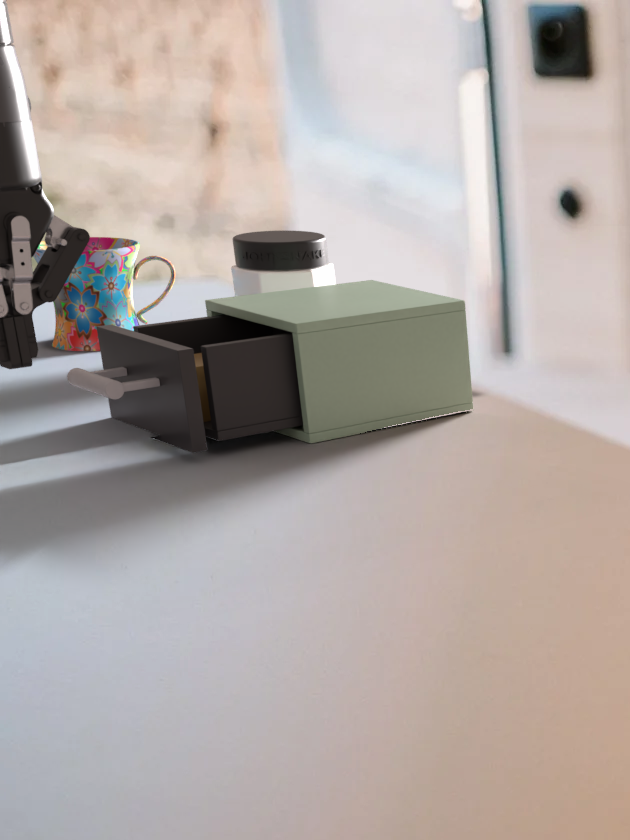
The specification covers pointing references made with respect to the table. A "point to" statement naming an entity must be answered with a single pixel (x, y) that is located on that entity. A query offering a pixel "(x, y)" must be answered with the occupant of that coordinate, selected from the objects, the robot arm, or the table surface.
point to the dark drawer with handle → (178, 385)
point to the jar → (280, 262)
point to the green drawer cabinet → (366, 353)
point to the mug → (100, 292)
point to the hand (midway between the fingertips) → (15, 366)
